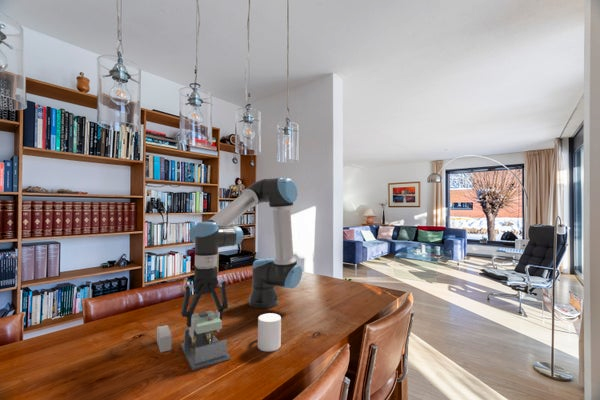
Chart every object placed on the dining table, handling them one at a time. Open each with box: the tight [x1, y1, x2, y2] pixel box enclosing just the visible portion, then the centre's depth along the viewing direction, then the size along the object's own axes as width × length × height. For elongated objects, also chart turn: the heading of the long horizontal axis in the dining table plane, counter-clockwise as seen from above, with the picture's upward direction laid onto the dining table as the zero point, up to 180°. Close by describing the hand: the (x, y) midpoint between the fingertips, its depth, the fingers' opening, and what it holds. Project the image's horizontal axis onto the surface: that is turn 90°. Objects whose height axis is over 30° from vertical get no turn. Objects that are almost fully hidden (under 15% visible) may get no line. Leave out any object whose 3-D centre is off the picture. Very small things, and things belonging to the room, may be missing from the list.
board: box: [192, 310, 223, 334], centre depth 97 cm, size 12×8×3 cm, turn 33°
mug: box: [257, 312, 282, 352], centre depth 104 cm, size 8×10×12 cm
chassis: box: [180, 327, 231, 371], centre depth 97 cm, size 18×12×6 cm, turn 33°
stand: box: [156, 324, 173, 353], centre depth 102 cm, size 10×4×5 cm, turn 33°
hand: (204, 332), depth 97 cm, fingers closed on board, 8 cm apart
